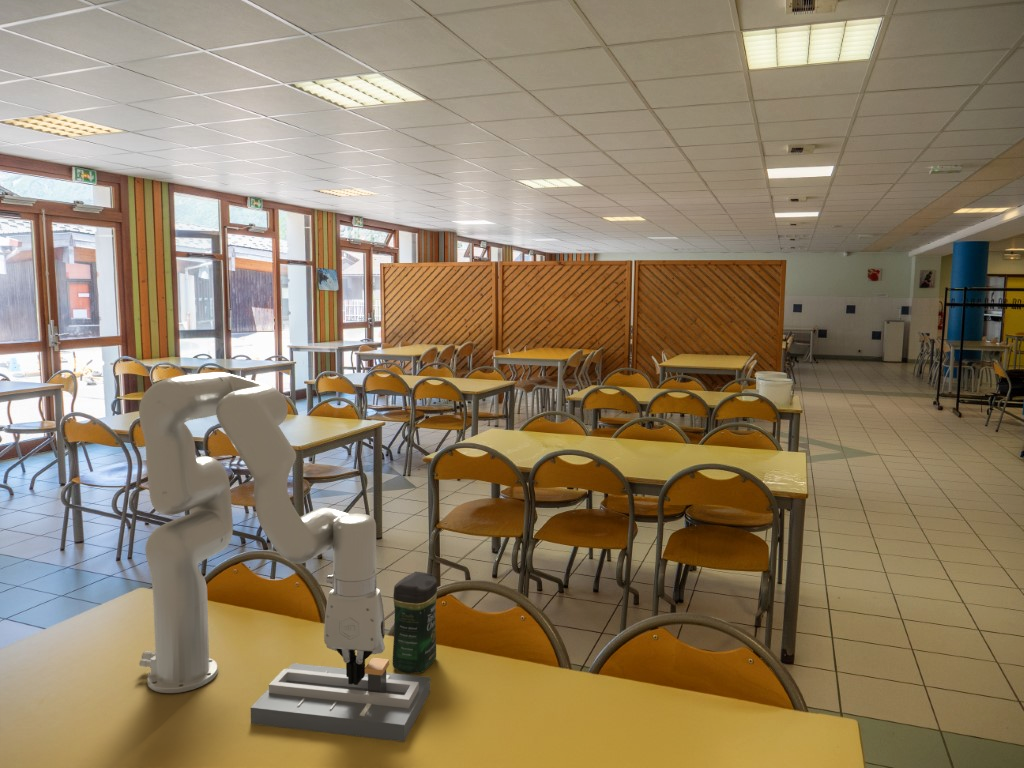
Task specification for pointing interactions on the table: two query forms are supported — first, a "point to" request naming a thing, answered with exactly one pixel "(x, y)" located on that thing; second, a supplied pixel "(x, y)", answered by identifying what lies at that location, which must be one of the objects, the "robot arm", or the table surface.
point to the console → (341, 703)
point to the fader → (377, 674)
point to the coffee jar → (415, 623)
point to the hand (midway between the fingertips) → (355, 680)
